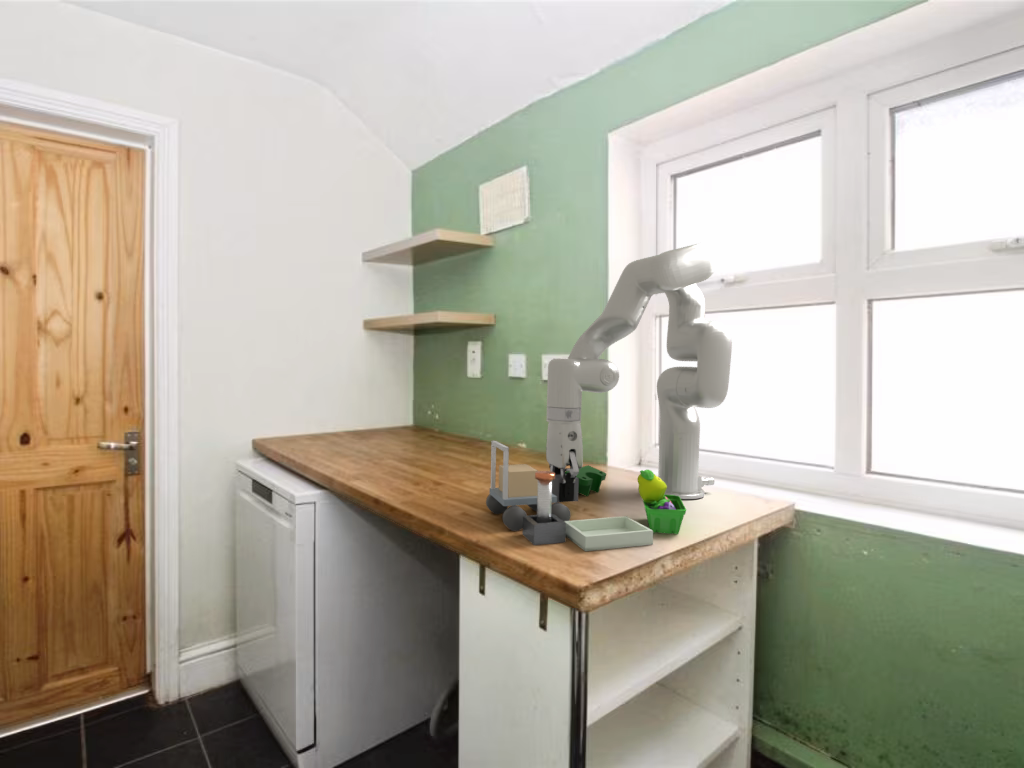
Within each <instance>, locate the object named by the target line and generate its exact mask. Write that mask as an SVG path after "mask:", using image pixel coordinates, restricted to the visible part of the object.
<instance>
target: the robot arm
mask: <svg viewBox="0 0 1024 768" xmlns="http://www.w3.org/2000/svg"><path fill="white" fill-rule="evenodd" d="M717 264H718V260H717V255H716V253H715V251H714V250H713V248H711V247H710V246H709V245H707V244H704V243H696V244H691V245H687V246H683V247H679V248H678V247H677V248H674V249H670V250H667V251H664V252H661V253H660V254H657V255H652V256H648V257H644V258H640V259H636V260H634V261H631V262H630V263H628V264H627V265H626V266H625V267H624V269H623V270H622V272H621V275H620V276H619V279H618V280H617V282H616V284H615V286H614V289H613V290H612V293H611V295H610V297H609V299H608V301H607V303H606V305H605V307H604V309H603V311H602V312H601V314H600V315H599V316H598V318H596V319H595V320H594V321H593V322H592V323H591V325H590V326H589V327H588V328H587V329H586V330H585V331H584V332H583V333H582V334H581V335H580V337H579V338H578V339H577V340H576V342H575V343H574V345H573V347H572V349H571V351H570V353H569V354H568V357H567V358H553V359H551V360H550V361H549V362H548V363H547V365H548V366H547V385H546V386H547V391H546V395H547V396H546V422H547V423H548V424H547V431H546V432H547V433H546V447H545V449H546V451H545V452H546V453H545V455H546V457H545V458H546V461H547V462H548V465H549V466H548V468H549V471H551V472H554V473H555V475H561V482H562V483H560V488H559V501H561V502H560V503H569V502H568V501H573V500H574V483H575V478H576V476H577V474H578V473H579V469H581V468H582V467H584V466H583V465H584V462H583V460H584V458H583V457H584V454H583V453H584V451H583V450H584V447H583V432H582V431H583V430H582V425H581V422H582V401H583V399H582V396H583V392H589V393H595V394H596V393H598V394H601V393H607V392H610V391H611V390H613V389H614V388H615V387H616V386H617V385H618V382H619V379H620V372H619V369H618V367H617V366H616V364H615V363H613V361H611V360H608V359H606V358H605V359H604V358H600V357H601V356H602V354H603V353H604V352H605V351H606V350H607V349H608V348H609V347H611V346H612V345H613V344H615V343H617V342H619V341H620V340H622V339H624V338H626V337H627V336H629V335H630V334H631V333H634V331H635V330H637V328H638V326H639V323H640V322H641V319H642V317H643V315H644V313H645V311H646V309H647V307H648V305H649V302H650V300H651V298H652V296H653V295H658V294H665V295H666V297H667V301H668V308H669V309H668V320H667V321H668V322H667V323H668V324H667V333H666V353H667V354H668V356H669V358H671V359H672V360H676V361H679V362H697V363H696V366H673V367H668V368H667V369H665V370H663V371H662V372H661V373H660V375H659V376H658V379H657V380H656V381H657V382H656V395H657V398H658V405H659V435H658V436H659V441H658V443H659V444H658V447H659V448H658V473H657V474H658V475H657V477H659V478H660V479H661V480H662V481H664V482H665V484H666V486H667V489H666V491H665V494H664V495H675V496H679V497H680V499H681V500H697V499H701V498H703V497H705V491H704V489H702V488H703V487H705V486H713V485H715V479H714V478H713V477H705V478H703V476H701V475H699V467H700V466H699V463H700V461H699V460H700V439H701V438H700V435H701V423H700V418H699V415H698V411H697V410H696V408H702V409H713V408H717V407H719V406H721V404H723V402H724V401H725V399H726V397H727V395H728V389H729V383H730V373H731V372H730V371H731V362H732V361H731V360H732V350H733V349H732V348H733V347H732V346H733V345H732V343H733V342H732V337H731V334H730V332H729V329H728V328H727V327H726V325H724V324H723V323H722V322H720V321H719V322H718V321H716V320H715V321H714V320H706V319H705V318H706V301H705V296H704V294H703V292H702V291H701V289H700V288H699V287H698V285H697V284H698V283H702V282H704V281H706V280H708V279H709V278H710V277H712V276H713V274H714V273H715V270H716V268H717ZM567 466H569V468H567ZM566 471H570V472H568V473H567V474H566V476H565V472H566ZM573 502H574V501H573Z"/></svg>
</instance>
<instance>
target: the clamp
mask: <svg viewBox="0 0 1024 768" xmlns="http://www.w3.org/2000/svg"><path fill="white" fill-rule="evenodd" d="M568 472H570V471H565V474H567V473H568ZM576 477H577V478H579V488H578V494H579V495H582V496H584V497H588V498H589V495H590V494H591V493H590V491H591V492H595V493H597V494H598V493H600V488H601V484H602V482H604V481H606V477H607V473H606V472H605V471H602V470H601V469H598V468H596V467H593V466H591V465H589V464H588V465H585V466H582V468H581V469H579V473H578V474H577V476H576Z"/></svg>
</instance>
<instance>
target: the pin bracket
mask: <svg viewBox="0 0 1024 768" xmlns="http://www.w3.org/2000/svg"><path fill="white" fill-rule="evenodd" d="M522 535H523V536H524V538H526V539H527V541H529V542H530V543H531V544H532V545H533V546H540V545H549V544H550V545H551V544H560V543H561V544H562V543H567V541H566V539H567V537H566V523H565V522H564V521H563V520H561V519H560V518H558V517H557V516H556V515H554V514H551V522H548V523H537V514H534V515H533V514H529V515H527V516H523V529H522Z"/></svg>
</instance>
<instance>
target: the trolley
mask: <svg viewBox="0 0 1024 768" xmlns="http://www.w3.org/2000/svg"><path fill="white" fill-rule="evenodd" d="M490 442H491V443H490V444H491V445H490V446H491V448H490V452H491V453H490V454H491V455H490V462H491V463H490V487H489V494H488V496H487V497H486V500H485V504H486V507H487V509H488V510H490V512H491V513H493V514H495V515H499V514H502V522H503V524H504V525H505V527H507V529H508V530H509V531H510V530H511V531H512V532H519V531H521V530H523V516H528V515H527V512H526V511H525V510H524V509H523V508H522V507H520V506H525V505H527V506H528V507H529V508H530V509H531V510H532V511H535V512H537V491H538V480H537V479H535V472H537V471H539V470H538V469H536V468H535V467H532V466H530V465H529V464H527V463H523V464H519V463H518V464H509V457H510V455H509V454H510V453H509V450H510V448H509V446H507V445H505V444H503V443H502V442H499V441H498V440H491V441H490ZM497 448H498V450H500V451H502V452H503V454H502V455H503V458H502V459H503V461H502V464H499V465H498V487H496V480H497V479H496V477H497V474H496V473H497V470H496V468H497V466H496V465H497ZM551 514H554V515H556V516H557V517H558V518H560V519H561V520H563V521H571V516H572V514H571V510H570V508H569V507H568V506H566V505H565V504H564V503H563V502H557V496H555V495H554V494H552V508H551Z"/></svg>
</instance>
